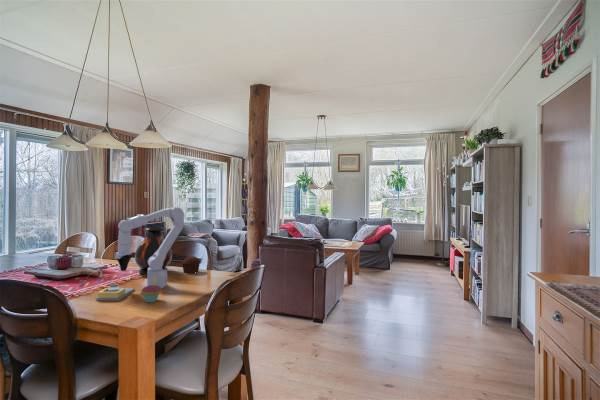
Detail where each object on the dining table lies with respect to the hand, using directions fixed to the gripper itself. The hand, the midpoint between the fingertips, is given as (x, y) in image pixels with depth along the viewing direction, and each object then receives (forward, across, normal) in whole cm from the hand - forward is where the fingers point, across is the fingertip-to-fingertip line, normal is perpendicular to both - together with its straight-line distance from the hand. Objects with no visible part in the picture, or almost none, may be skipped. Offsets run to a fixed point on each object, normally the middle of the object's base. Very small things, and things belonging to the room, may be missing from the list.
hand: (123, 270), depth 161 cm
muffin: (+10, -40, +24) cm, 48 cm away
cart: (+9, +12, +1) cm, 15 cm away
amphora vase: (+10, -39, +1) cm, 40 cm away
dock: (+10, +9, +1) cm, 13 cm away
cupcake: (+10, +17, +20) cm, 28 cm away
